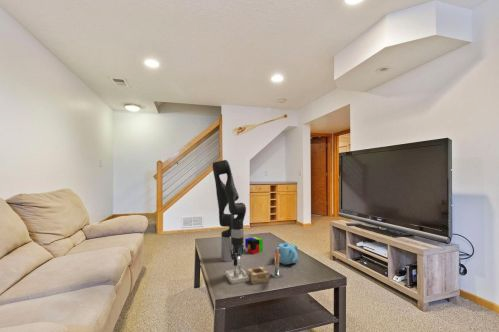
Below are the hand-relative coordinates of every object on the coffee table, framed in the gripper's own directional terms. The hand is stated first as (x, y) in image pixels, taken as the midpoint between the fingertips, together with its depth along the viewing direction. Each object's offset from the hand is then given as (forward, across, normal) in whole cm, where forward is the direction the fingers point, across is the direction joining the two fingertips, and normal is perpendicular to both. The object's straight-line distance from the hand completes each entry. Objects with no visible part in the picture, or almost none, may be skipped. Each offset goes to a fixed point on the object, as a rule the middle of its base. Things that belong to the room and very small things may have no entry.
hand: (237, 264), depth 140 cm
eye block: (+8, +4, -12) cm, 15 cm away
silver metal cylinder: (+6, 0, 0) cm, 6 cm away
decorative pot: (+9, +37, -21) cm, 43 cm away
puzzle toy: (+9, +48, +8) cm, 50 cm away
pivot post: (+8, +13, -21) cm, 26 cm away
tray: (+8, 0, 0) cm, 8 cm away
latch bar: (-4, +7, -23) cm, 24 cm away
